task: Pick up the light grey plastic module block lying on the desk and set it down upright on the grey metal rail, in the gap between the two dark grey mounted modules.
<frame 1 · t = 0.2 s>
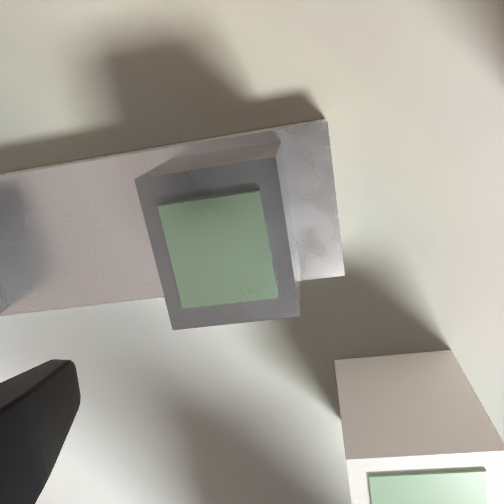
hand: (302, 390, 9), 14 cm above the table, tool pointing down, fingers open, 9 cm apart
rail: (115, 226, 23), on the table
module block: (394, 386, 25), on the table
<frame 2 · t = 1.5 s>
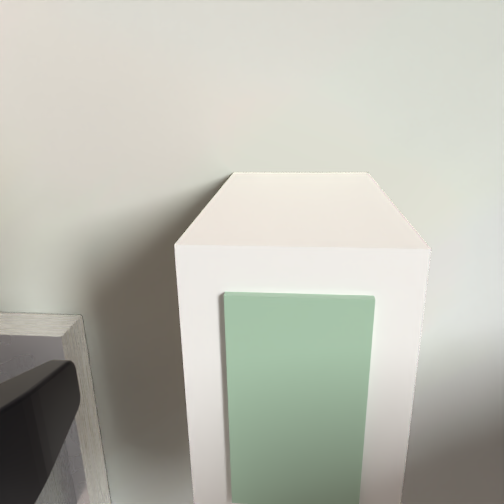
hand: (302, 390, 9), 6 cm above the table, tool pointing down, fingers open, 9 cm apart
module block: (298, 265, 15), on the table
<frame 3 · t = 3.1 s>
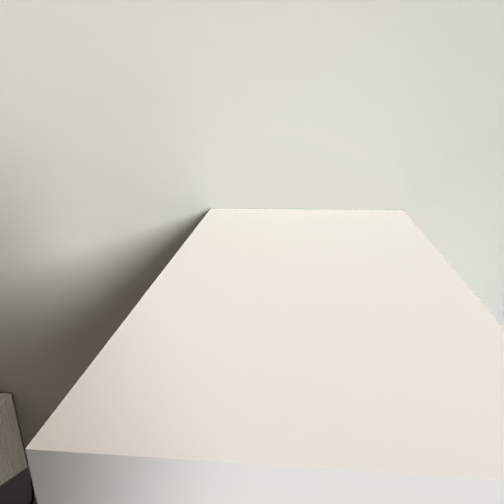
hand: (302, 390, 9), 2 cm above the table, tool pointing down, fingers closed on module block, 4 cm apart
module block: (302, 335, 11), on the table, touching gripper
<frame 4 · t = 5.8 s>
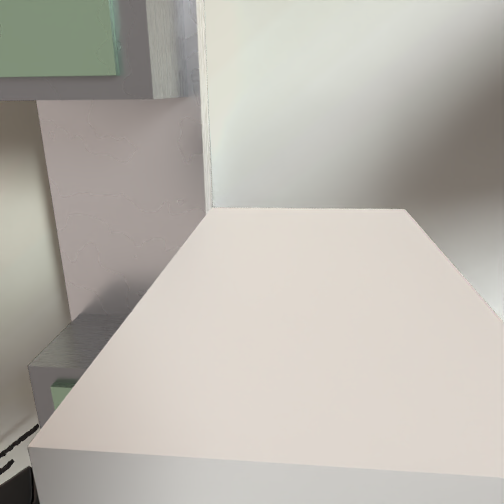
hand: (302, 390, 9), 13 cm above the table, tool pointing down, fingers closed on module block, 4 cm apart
rail: (138, 186, 22), on the table
module block: (303, 335, 11), point 11 cm above the table, touching gripper
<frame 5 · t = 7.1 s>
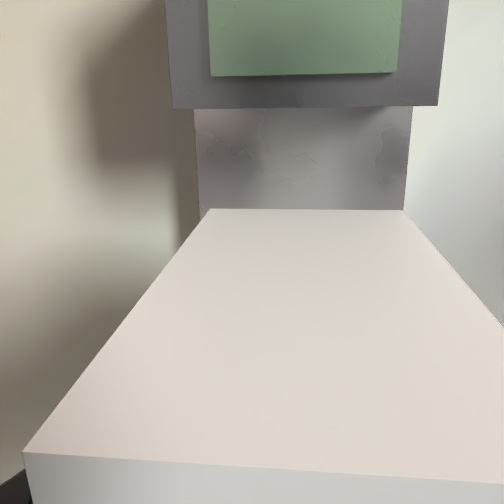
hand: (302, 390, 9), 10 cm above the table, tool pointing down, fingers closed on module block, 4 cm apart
rail: (298, 212, 17), on the table
module block: (302, 336, 11), point 8 cm above the table, touching gripper
when the fingers open (4 cm above the table, at t = 8.3 s): module block stays where it is, resting on rail.
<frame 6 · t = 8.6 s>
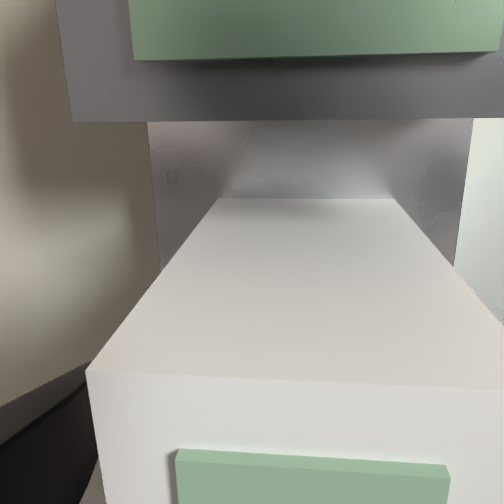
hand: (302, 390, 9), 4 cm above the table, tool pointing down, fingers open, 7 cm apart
rail: (301, 258, 13), on the table
module block: (302, 316, 11), point 1 cm above the table, touching rail
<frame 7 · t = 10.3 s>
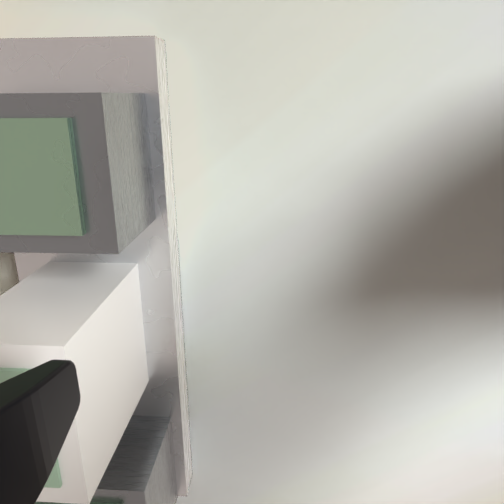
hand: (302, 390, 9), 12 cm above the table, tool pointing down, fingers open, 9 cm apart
rail: (109, 290, 22), on the table
module block: (100, 323, 21), point 1 cm above the table, touching rail
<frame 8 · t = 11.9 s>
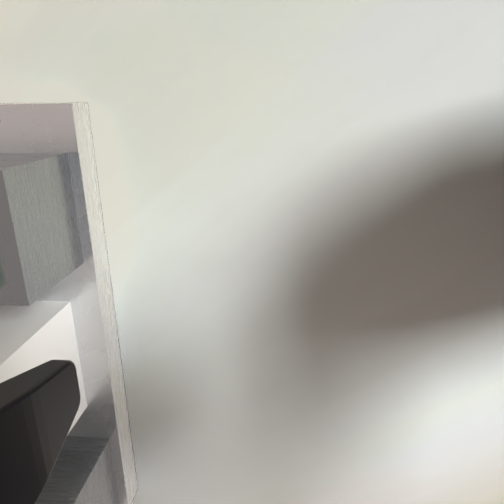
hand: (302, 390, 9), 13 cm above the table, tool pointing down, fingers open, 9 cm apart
rail: (52, 322, 24), on the table
module block: (41, 354, 23), point 1 cm above the table, touching rail
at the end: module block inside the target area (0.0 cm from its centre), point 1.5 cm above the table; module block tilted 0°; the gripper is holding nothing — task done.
